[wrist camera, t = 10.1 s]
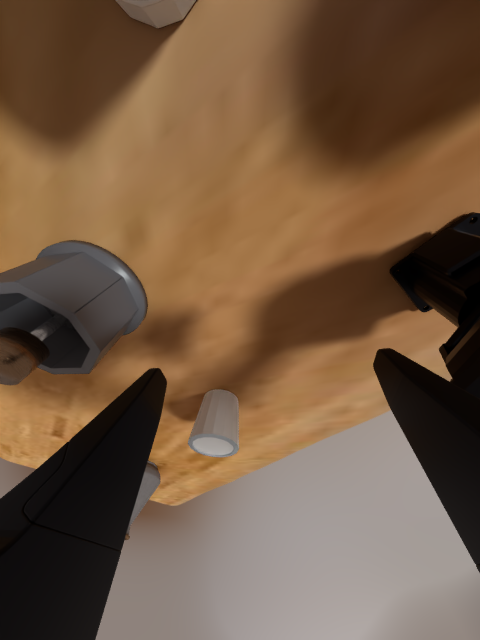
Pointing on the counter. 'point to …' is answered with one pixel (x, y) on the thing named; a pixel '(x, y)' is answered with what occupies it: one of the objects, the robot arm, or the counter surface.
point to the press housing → (74, 302)
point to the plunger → (26, 348)
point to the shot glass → (216, 425)
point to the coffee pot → (145, 490)
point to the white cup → (156, 10)
